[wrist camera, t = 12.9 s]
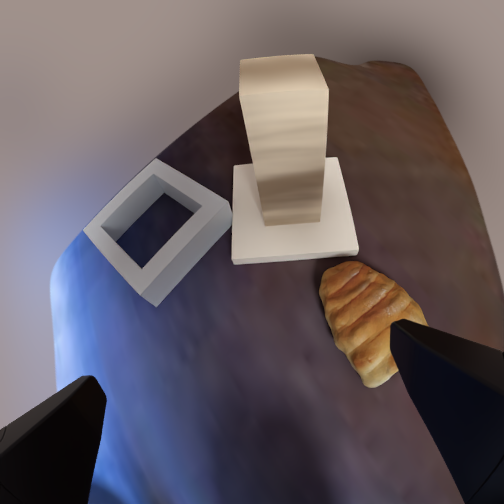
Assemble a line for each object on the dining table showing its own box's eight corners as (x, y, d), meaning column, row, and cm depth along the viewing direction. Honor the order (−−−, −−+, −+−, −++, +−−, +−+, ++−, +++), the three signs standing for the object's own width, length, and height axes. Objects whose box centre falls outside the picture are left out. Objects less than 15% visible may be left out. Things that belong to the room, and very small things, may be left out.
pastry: (295, 298, 23) (296, 279, 19) (361, 252, 24) (370, 227, 20) (368, 395, 18) (383, 395, 15) (431, 338, 20) (454, 326, 16)
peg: (319, 222, 24) (328, 89, 13) (265, 226, 25) (239, 96, 14) (312, 180, 26) (313, 54, 15) (262, 184, 27) (240, 60, 16)
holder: (235, 221, 26) (228, 201, 24) (156, 307, 24) (139, 295, 21) (166, 177, 30) (155, 158, 28) (98, 245, 28) (82, 230, 25)
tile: (356, 255, 23) (358, 249, 22) (234, 264, 24) (231, 259, 24) (336, 164, 28) (337, 157, 27) (235, 172, 29) (233, 165, 28)
